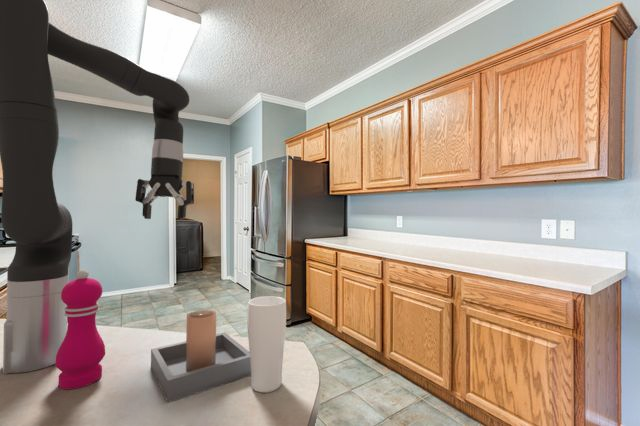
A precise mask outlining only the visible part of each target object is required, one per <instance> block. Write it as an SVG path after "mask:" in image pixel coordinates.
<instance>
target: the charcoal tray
mask: <svg viewBox="0 0 640 426" xmlns="http://www.w3.org/2000/svg"><path fill="white" fill-rule="evenodd" d="M150 368H151V370H152V373H153V374H154V376H155V379H156V382H158V385H159V387H160V390H161V392H162V393H163V396H164V398H165V400H166V402H167V403H171V402H174V401H178V400H180V399H183V398H186V397H189V396H192V395H195V394H198V393H201V392H205V391H208V390H211V389H214V388H216V387H219V386H222V385H225V384H228V383H232V382H235V381H238V380H241V379H244V378H247V377H251V366H250V352H249V349H247V348H245V347H244V346H243V345H242V344H240V343H239V342H238V341H236V340H235V339H234V338H233V337H231V336H230V335H229V334H227V333H226V332H221V333H216V364H215V365H211V366H207V367H204V368H200V369H197V370H193V371H190V372H188V371H187V370H186V340H185V341H181V342H176V343H173V344H167V345H164V346H159V347H155V348H151V349H150Z"/></svg>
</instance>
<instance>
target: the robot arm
mask: <svg viewBox="0 0 640 426" xmlns="http://www.w3.org/2000/svg"><path fill="white" fill-rule="evenodd" d="M49 56H50V57H54V58H57V59H59V60H61V61H64V62H67V63H69V64H72V65H74V66H75V67H78V68H80V69H83V70H85V71H87V72H90V73H91V74H93V75H96V76H97V77H100V78H102V79H103V80H104V81H105V80H106V81H107V82H109V83H111V84H113V85H115V86H117V87H119V88H121V89H123V90H124V91H126V92H128V93H130V94H133V95H135V96H138V97H145V96H146V97H149V98H152V113H153V121H154V124H155V125H154V131H153V132H154V134H153V136H154V137H153V144H152V148H151V165H150V166H151V168H150V179H149V180H148V179H147V180H145V179H141V178H139V179H138V180H137V181H136V190H135V198H134V199H135V200H134V201H136V202H138V203H141V204H142V212H141V213H142V217H144V219H145V220H151V219H152V206H153V205H152V204H153V202H154V201H155V200H156V199H158V198H159V197H160V198H165V197H167V198H173V199H175V200H176V202H177V203H178V204H179V205H178V206H177V221H183V220H184V219H186V217H187V216H186V215H187V206H189V205H193V204H195V185H194V184H195V183H194V182H192V181H190V180H186V181H183V179H182V178H183V166H184V165H183V164H184V145H183V143H184V126H183V125H182V123H181V122H179V121H180V120H179V114H180V112H181V111H182V110H185V109H186V108H187V107H188V105H189V104H190V95H189V92H188V91H187V90H186V88H184V86H183V85H181V84H180V83H178V82H176V81H175V80H173V79H171V78H168V77H166V76H163V75H161V74H158V73H156V72H153V71H150V70H147V69H146V68H144V67H142V66H140V65H139V64H137V63H135V62H134V61H133V60H131V59H129V58H128V57H126V56H124V55H121V54H120V53H118V52H115V51H113V50H111V49H108V48H105V47H102V46H99V45H95V44H93V43H89V42H87V41H84V40H81V39H79V38H77V37H74V36H72V35H70V34H68V33H66V31H62V30H61V29H59V28H58V27H56V26H55V25H53V24H52V23H50V12H49V8H48V6H47V3H46V1H45V0H0V164H1V170H2V197H1V214H0V216H1V217H0V218H1V220H0V221H1V226H2V230H3V231H4V233H5V235H7V237H8V238H9V239H10V240H12V241H14V242H15V252H14V257H13V258H12V261H11V262H10V264H9V265H8V268H7V276H6V277H7V278H6V279H7V283H6V320H5V321H4V322H3V342H2V343H3V346H2V347H3V350H2V351H3V353H2V356H3V357H2V374H3V375H5V374H11V373H25V372H26V373H27V372H33V371H37V370H41V369H44V368H48V367H50V366H53V365H55V361H56V355H57V352H58V350H59V348H60V346H61V344H62V342H63V340H64V338H65V336H66V333H67V327H68V319H67V316H65V315H64V314H65V310H64V309H65V307H67V305H66V304H65V303H64V302H63V301H62V299H61V292H62V289H63V288H64V286H65V285H66V284H67V283H69V267H70V262H71V258H72V249H73V248H72V246H73V245H72V244H73V219H72V218H73V217H72V214H71V212H70V210H69V209H68V207H66V206H64V204H62V203H60V202H58V200H57V195H56V192H55V187H54V179H53V177H54V176H53V174H54V173H53V169H54V163H55V158H56V155H57V151H58V147H59V139H60V138H59V137H60V135H59V134H60V131H59V120H58V119H59V118H58V110H57V102H56V96H55V89H54V83H53V78H52V73H51V69H50V68H51V67H50V63H49ZM149 187H150V188H151V189H150V190H149V191H148V193H147V188H149ZM182 188H184V190H185V197H186V198H184V196H183V194H182V193H181V189H182ZM146 193H147V194H146Z"/></svg>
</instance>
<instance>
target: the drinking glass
mask: <svg viewBox="0 0 640 426" xmlns="http://www.w3.org/2000/svg"><path fill="white" fill-rule="evenodd" d="M286 301H287V300H286V299H285V298H284V297H280V296H275V295H273V296H272V295H270V296H269V295H265V296H264V295H263V296H256V297H254V298H251V299H249V300H248V302H247V335H248V336H247V338H248V351H249V352H250V366H251V375H250V386H251V388H252V389H253V390H254V391H256V392H257V393H258V392H259V393H266V394H267V393H271V392H274V391H277V389H279V388H280V387H281V385H282V383H283V377H282V376H283V373H282V372H283V362H284V361H283V360H284V352H285V351H284V349H285V339H286V330H287V302H286Z"/></svg>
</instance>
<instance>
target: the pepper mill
mask: <svg viewBox="0 0 640 426" xmlns="http://www.w3.org/2000/svg"><path fill="white" fill-rule="evenodd" d="M76 278H77V279H73V280H71V281H68V283H67V284H66V285H65V286H64V288H63V289H62V292H61V299H62V301H63V302H64V303H65V304H66V305H67V307H65V309H64V310H65V314H64V315H65V316H67V333H66V336H65V338H64V340H63V342H62V344H61V346H60V348H59V350H58V352H57V355H56V361H55V364H54V366H55V367H56V368H57V369H58V371H60V374H59V375H58V384H57V385H58V387H59V388H60V389H63V390H73V389H79V388H83V387H86V386H89V385H92V384H93V383H95V382H97V381H98V380H99V379H101V377H102V375H103V365H102V364H101V361H102V360H103V359H104V357H105V355H106V344H105V343H104V340H103V338H102V337H101V335H100V333H99V331H98V328H97V325H96V323H97V322H96V315H97V313H98V312H99V310H100V308H99V306H100V304H99V302H98V301H99V299H101V297H102V295H103V286H102V284H101V282H100V281H99V280H97V279H94V278H91V277H89V271H87V270H86V269H81V270H79V271H77V273H76Z"/></svg>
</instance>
